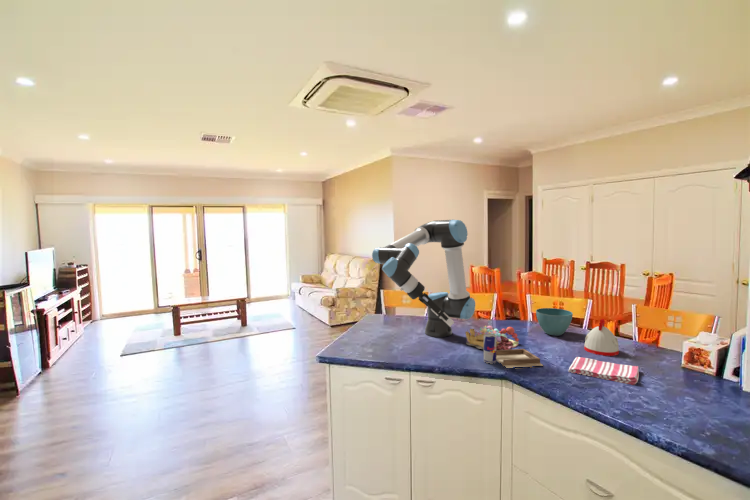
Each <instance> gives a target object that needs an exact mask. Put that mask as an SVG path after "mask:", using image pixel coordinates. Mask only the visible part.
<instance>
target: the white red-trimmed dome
mask: <svg viewBox="0 0 750 500" xmlns="http://www.w3.org/2000/svg"><path fill="white" fill-rule="evenodd" d="M599 321H600V322H599V326H595V327H593V328H592V329H591V330H589V332H587V334H586V335H585V338H584V341H585V342H584V351H586V352H588V353H591V354H593V355H597V356H603V357H604V356H605V357H609V356H610V357H613V356H617V355H619V353H620V352H619V350H620V349H619V348H620V347H619V341H618V337H616V336H615V334H614V333H613V331H611V330H610V329H609V328H608V327H606V326H605V324H606V323H605V322H606V321H605V318H600V320H599Z"/></svg>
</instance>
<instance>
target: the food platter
mask: <svg viewBox="0 0 750 500" xmlns="http://www.w3.org/2000/svg"><path fill="white" fill-rule="evenodd" d="M484 334H494V335H496V350H510V349H515V348H516V347H517V346H519V343H520V339H519V338H518V333H515V328H514V327H512V326H507V327H506V328H501V330H499V329H498V328H494V327H493V325H484V326H481V327H479V331H477V329H475V328H470V329H467V331H466V330H465V336H466V342H465V344H466V345H468V346H472V347H475V348H477V349H479V350H480V349H481V350H484ZM506 334H507V335H509V336H510V335H511V338H513V339H514V340H513V339H510V338H508V336H507V335H506Z"/></svg>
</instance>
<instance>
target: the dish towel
mask: <svg viewBox="0 0 750 500" xmlns="http://www.w3.org/2000/svg"><path fill="white" fill-rule="evenodd" d="M639 368H640V367H639V366H638V365H637V366H636V365H629V364H621V363H620V364H618V363H614V362H611V361H602V360H601V361H600V360H598V359H594V358H588V357H582V356H581V357H580V356H576V357H575V358H574V359H573V361H572V363H571V365H570V366H569V368H568V370H567V371H568V373H570V372H571V374H575V373H577V375H581V374H582V376H586V375H587V376H588V377H591V376H592V378H596V379H602V380H606V381H613V382H617V383H621V384H628V385H632V386H635V385H636V384H637V383H638V381H639V376H640V373H639V372H640V369H639ZM587 376H586V377H587Z"/></svg>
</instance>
